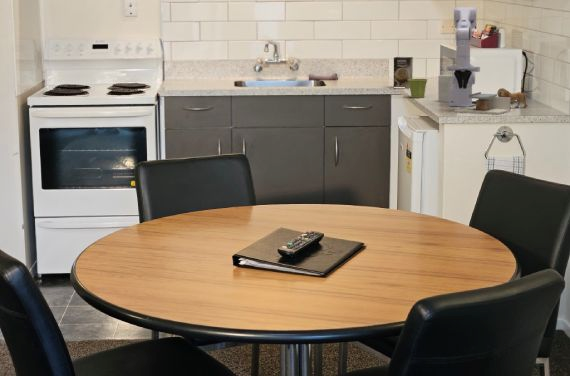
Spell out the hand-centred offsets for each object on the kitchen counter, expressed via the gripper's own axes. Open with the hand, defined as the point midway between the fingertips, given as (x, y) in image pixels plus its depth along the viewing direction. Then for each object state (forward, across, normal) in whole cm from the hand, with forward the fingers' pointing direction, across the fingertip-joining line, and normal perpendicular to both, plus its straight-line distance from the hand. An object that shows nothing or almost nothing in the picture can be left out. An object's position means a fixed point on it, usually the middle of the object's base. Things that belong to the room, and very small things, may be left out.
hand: (462, 88), depth 408 cm
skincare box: (+10, -20, +26) cm, 35 cm away
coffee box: (+10, -65, +70) cm, 96 cm away
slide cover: (+3, +9, 0) cm, 10 cm away
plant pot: (+10, -39, +36) cm, 54 cm away
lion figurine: (+10, +16, +15) cm, 24 cm away
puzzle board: (+9, +9, 0) cm, 13 cm away
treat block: (+10, +9, 0) cm, 13 cm away
